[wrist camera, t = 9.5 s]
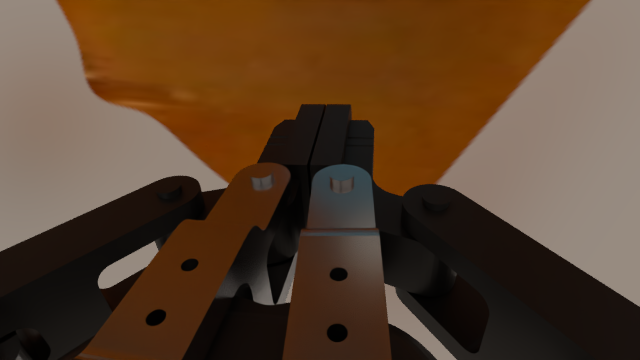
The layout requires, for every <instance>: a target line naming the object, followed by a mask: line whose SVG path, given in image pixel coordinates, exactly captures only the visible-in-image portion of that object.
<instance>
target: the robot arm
mask: <svg viewBox="0 0 640 360" xmlns="http://www.w3.org/2000/svg"><path fill="white" fill-rule="evenodd" d="M373 152H374V128H373V127H372V125H371V124H370V123H369V122H368V120H352V117H351V105H343V104H327V106H326V105H325V104H302V105H301V107H300V110H299V112H298V115H297V117H296V120H284V121H283V122H281V123H280V124H278V125H277V126H276V127H275V128H274V130H273V132H272V134H271V136H270V138H269V140H268V142H267V145H266V146H265V148H264V150H263V152H262V154H261V156H260V158H259V160H258V162H257V164H253V165H250V166H247V167H245V168H243V169H242V170H240V171H239V172H238V173H237V174H236V175H235V177H234V178H233V180H232V181H231V182H230V184H229V185H228V187H227V188H224V189H219V190H212V191H206V192H202V191H201V187H200V184H199V182H198V181H197V180H196V179H194V178H192V177H189V176H172V177H167V178H163V179H161V180H158V181H156V182H153V183H151V184H149V185H147V186H145V187H143V188H140V189H138V190H136V191H134V192H131V193H129V194H127V195H125V196H122V197H120V198H118V199H116V200H114V201H111V202H109V203H107V204H105V205H103V206H100V207H98V208H96V209H94V210H91V211H89V212H87V213H85V214H83V215H80V216H78V217H76V218H74V219H72V220H69V221H67V222H65V223H63V224H61V225H58V226H56V227H54V228H52V229H49V230H47V231H45V232H43V233H41V234H38V235H36V236H34V237H32V238H30V239H27V240H25V241H23V242H21V243H18V244H16V245H14V246H12V247H10V248H7V249H5V250H3V251H1V252H0V360H437V359H436V358H435V357H434V356H433V355H432V354H431V353H430V352H429V351H428V350H427V349H426V348H425V347H424V346H423V345H422V344H420V343H419V342H418V341H417V340H416V339H414V338H413V337H411V336H410V335H409V334H407V333H406V332H404V331H402V330H401V329H399V328H397V327H396V326H393V325H391V324H389V323H388V317H387V307H386V297H385V286H384V283H385V284H388V285H391V286H394V287H395V288H396V293H397V296H398V297H399V299H400V300H401V301H402V303H403V304H404V305H405V306H406V307H407V308H408V309H409V310H410V311H411V312H412V313H413V314H414V315H415V316H416V317H417V318H418V319H419V320H420V321H421V322H422V323H423V325H425V327H427V329H428V330H429V331H430V332H431V333H432V334H433V335H434V336H435V337H436V338H437V339H438V340H439V341H440V342H441V343H442V344H443V345H444V346H445V348H446V349H448V351H449V352H450V353H451V354H452V355H453V356H454V357H455V358H456V359H457V360H640V307H639V306H637V305H636V304H634V303H633V302H631V301H629V300H628V299H626V298H625V297H623V296H622V295H620V294H619V293H617V292H615V291H614V290H612V289H611V288H609V287H608V286H606V285H604V284H603V283H601V282H599V281H598V280H597V279H595V278H593V277H592V276H590V275H589V274H587V273H586V272H584V271H582V270H581V269H579V268H578V267H576V266H574V265H573V264H571V263H570V262H568V261H567V260H565V259H563V258H562V257H560V256H558V255H557V254H556V253H554V252H552V251H551V250H549V249H548V248H546V247H545V246H543V245H541V244H540V243H538V242H537V241H535V240H534V239H532V238H530V237H529V236H527V235H526V234H524V233H523V232H521V231H520V230H518V229H516V228H514V227H513V226H512V225H510V224H509V223H507V222H505V221H504V220H502V219H501V218H499V217H497V216H496V215H494V214H493V213H491V212H490V211H488V210H486V209H485V208H483V207H482V206H480V205H479V204H477V203H476V202H474V201H472V200H471V199H469V198H468V197H466V196H464V195H463V194H461V193H460V192H458V191H456V190H455V189H452V188H450V187H446V186H442V185H436V184H425V185H419V186H416V187H413V188H411V189H409V190H408V191H407V192H406V193H405V194H404V196H403V197H402V196H398V195H395V194H391V193H389V192H386V191H384V190H383V189H381V188H380V187H378V186H377V185H376V184H375V182H374V181H373ZM153 241H155V243H156V245H157V248H158V250H159V252H158V253H157V254H156V256H155V257H154V258H153V260H152V261H151V262H150V264H149V265H148V266H147V267H145V268H144V269H142V270H140V271H138V272H137V273H135V274H134V275H131V276H130V277H128V278H126V279H124V280H123V281H121V282H119V283H117V284H116V285H114V286H112V287H110V288H106V289H100V288H99V286H98V278H99V275H100V274H101V272H102V271H103V270H104V269H105V268H106V267H107V266H109V265H111V264H113V263H114V262H116V261H118V260H120V259H122V258H124V257H125V256H127V255H129V254H131V253H133V252H135V251H137V250H138V249H140V248H142V247H144V246H146V245H148V244H150V243H152V242H153ZM293 278H294V282H293V289H292V296H291V302H290V303H285V301H286V298H287V295H288V292H289V289H290V286H291V283H292V281H293Z"/></svg>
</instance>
